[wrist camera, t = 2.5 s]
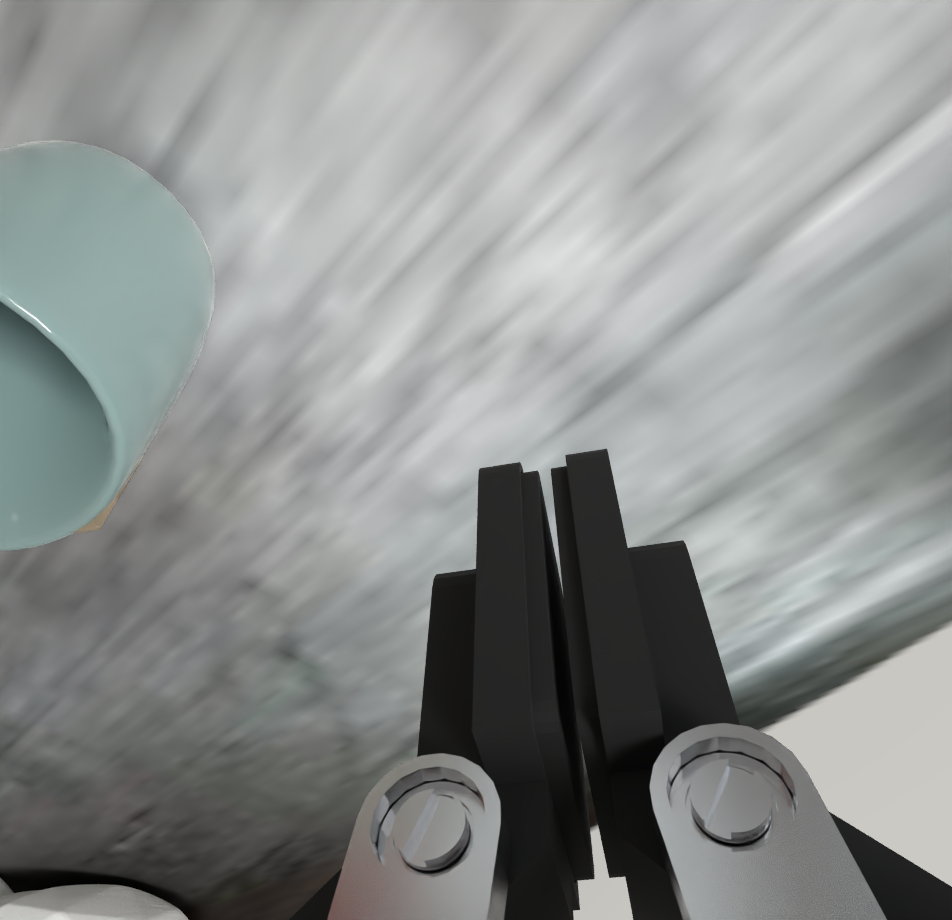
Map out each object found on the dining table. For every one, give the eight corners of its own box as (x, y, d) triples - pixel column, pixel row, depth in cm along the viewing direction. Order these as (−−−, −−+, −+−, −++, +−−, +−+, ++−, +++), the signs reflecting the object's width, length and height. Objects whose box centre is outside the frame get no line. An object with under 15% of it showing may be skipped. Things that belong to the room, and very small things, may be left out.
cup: (141, 391, 28) (0, 599, 20) (-64, 222, 24) (-336, 391, 16) (293, 262, 25) (198, 446, 17) (85, 48, 22) (-159, 152, 13)
